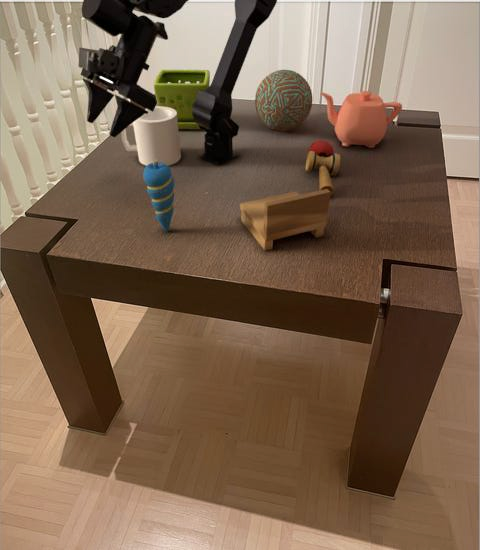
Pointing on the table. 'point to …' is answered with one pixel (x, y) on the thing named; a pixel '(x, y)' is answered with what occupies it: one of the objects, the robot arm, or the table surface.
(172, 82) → the flower pot
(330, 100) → the teapot
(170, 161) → the mug
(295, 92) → the decorative sphere
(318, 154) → the kendama
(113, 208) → the table surface
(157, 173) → the ornament
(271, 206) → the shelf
